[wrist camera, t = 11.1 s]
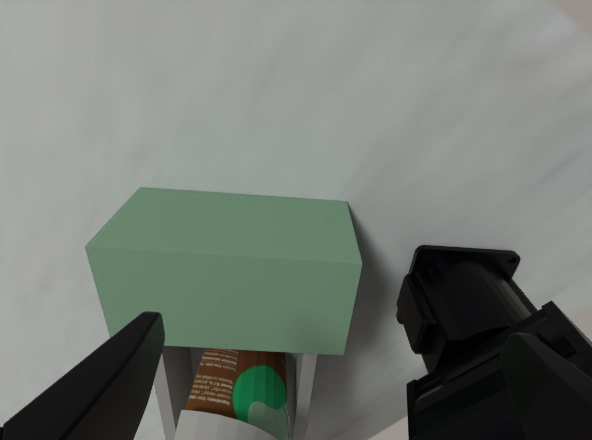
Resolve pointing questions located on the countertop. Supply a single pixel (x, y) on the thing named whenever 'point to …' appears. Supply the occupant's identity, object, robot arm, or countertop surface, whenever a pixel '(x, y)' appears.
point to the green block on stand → (230, 283)
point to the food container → (237, 397)
